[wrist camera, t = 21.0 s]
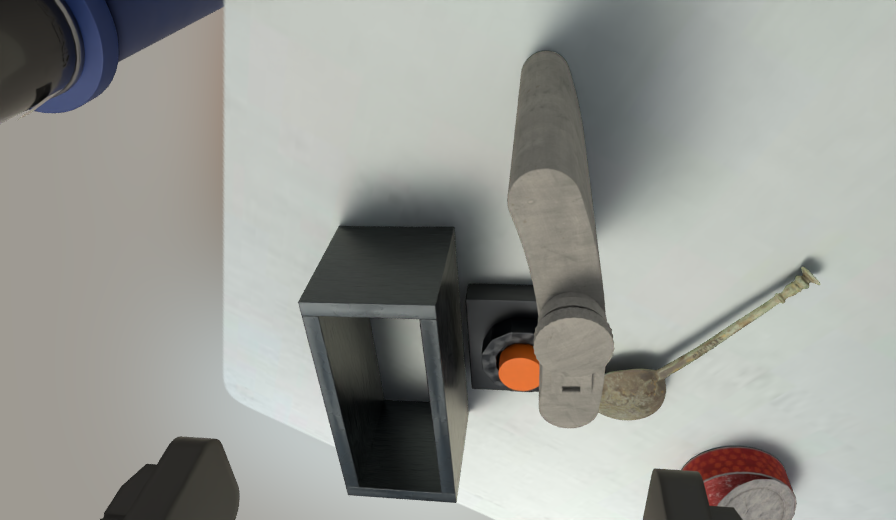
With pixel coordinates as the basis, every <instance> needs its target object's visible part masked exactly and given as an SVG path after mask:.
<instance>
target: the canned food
mask: <svg viewBox="0 0 896 520" xmlns="http://www.w3.org/2000/svg"><path fill="white" fill-rule="evenodd" d="M682 470H684V471H698V472H699V473H700V474H701V476H702V479H703V482H704V486H705V490H706V494H707V498H708V502H709V506H721V507H734V508H735V510H736V511H737V513H738V514H739V515H740V517H741V518H742V519H743V520H792V518H793V516H794V514H795V509H796V504H797V503H796V497H795V495H794V493H793V490H792V487H791V485H790V482H789V479H788V477H787V474H786V470H785V468H784V466H783V465H782V464H781V462H780V461H779V460H778V459H776V458H775V457H774V456H772V455H771V454H769V453H766V452H764V451H762V450H758V449H754V448H750V447H741V446H730V447H722V448H716V449H713V450H709V451H706V452H704V453H701V454H699V455H697V456H696V457H694V458H692V459H691V460H690V461H689V462H688V463H686V464H685V466H684V467H683V468H682Z"/></svg>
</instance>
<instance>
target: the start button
mask: <svg viewBox="0 0 896 520" xmlns="http://www.w3.org/2000/svg"><path fill="white" fill-rule="evenodd" d="M533 347H534V346H532V345H529V344H513V345H510V346H508V347H506V348H505V349H504V350H503V351H502V353H501V355H500V362H499V378H500V380H501V381H502V383H503V384H504V385H506V386H507V387H509V388H511V389H513V390H518V391H528V390H532V389H534V388H536V387H538V386H539V361H538V360H537V359H536V355H535V354H534V348H533Z"/></svg>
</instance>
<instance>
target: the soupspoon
mask: <svg viewBox="0 0 896 520" xmlns="http://www.w3.org/2000/svg"><path fill="white" fill-rule="evenodd" d="M801 269H802V273H803V275H802V276H796V277H795V281H794V282H791V284H789V285H787V286H786V287H785V288H784V290H783V291H782V292H781V293H776V294H775V296H774V297H773V298H772V299H770V300H769V301H767V302H766V303H764V304H763V305H761V306H760V307H758V308H756V309H755V310H753V311H752V312H750V313H749V314H747V315H745V316H744V317H742V318H741V319H739V320H738V321H736V322H735V323H733V324H732V325H730V326H728V327H727V328H725V329H724V330H722V331H721V332H719V333H718V334H716V335H715V336H713V337H712V338H710V339H709V340H707V341H706V342H704V343H703V344H701V345H700V346H698V347H696V348H695V349H693V350H691V351H690V352H688V353H686V354H685V355H683V356H681V357H679V358H678V359H676V360H674V361H672V362H671V363H669V364H667V365H665V366H663V367H662V368H660V369H658V370H651V369H628V370H620V371H613V372H608V373H605V376H604V384H603V390H602V396H601V401H600V406H599V410H598V413H600V414H603V415H605V416H607V417H610V418H614V419H619V420H637V419H642V418H645V417H648V416H650V415H651V414H653V413H655V412H656V411H657V410H658V409H659V408H660V407H661V405H662V403H663V401H664V399H665V394H666V384H665V378H666V377H667V376H669V375H670V374H672V373H674V372H676V371H677V370H679V369H681V368H683V367H684V366H686V365H688V364H690V363H691V362H693V361H694V360H696V359H698V358H699V357H700V356H702V355H704V354H705V353H707V352H708V351H709V350H711V349H713V348H714V347H716V346H717V345H718V344H720V343H722V342H723V341H725V340H726V339H727V338H729V337H730V336H732V335H733V334H735V333H736V332H737V331H739V330H740V329H742V328H743V327H745V326H746V325H748V324H749V323H751V322H752V321H754V320H755V319H757V318H758V317H760V316H761V315H763V314H764V313H766V312H767V311H769V310H770V309H772V308H773V307H774V306H776V305H777V304H779V303H785V300H786V298H788V297H791V296H794V295H796V294H797V293H798V292H801V290H802V289H807V288H809V283H810V282H812V283H815V284H817V285H820V282H819V281H818V280H817V279H816V278H815V277H814V276H813V274H812V273H811V272H810V271H809V270H807V269H806V268H805V267H801Z"/></svg>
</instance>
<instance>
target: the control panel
mask: <svg viewBox="0 0 896 520" xmlns="http://www.w3.org/2000/svg"><path fill="white" fill-rule="evenodd" d="M466 312H467V325H468V339H469V353H470V367H471V381H472V389H490V390H510V391H518V390H513V389H511V388H509V387H507V386H506V385H504V384H503V383H502V381H501V380H500V378H499V362H500V355H501V353H502V351H503V350H504V349H505V348H506V347H508V346H510V345H513V344H529V345H532V346H534V333H535V328H536V327H537V325H538V317H539V316H538V309H537V302H536V297H535V292H534V287H533V285H511V284H468V289H467V295H466ZM534 391H535V392H539V386H538V387H536V388H534V389H532V390H528V391H519V392H534Z"/></svg>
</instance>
